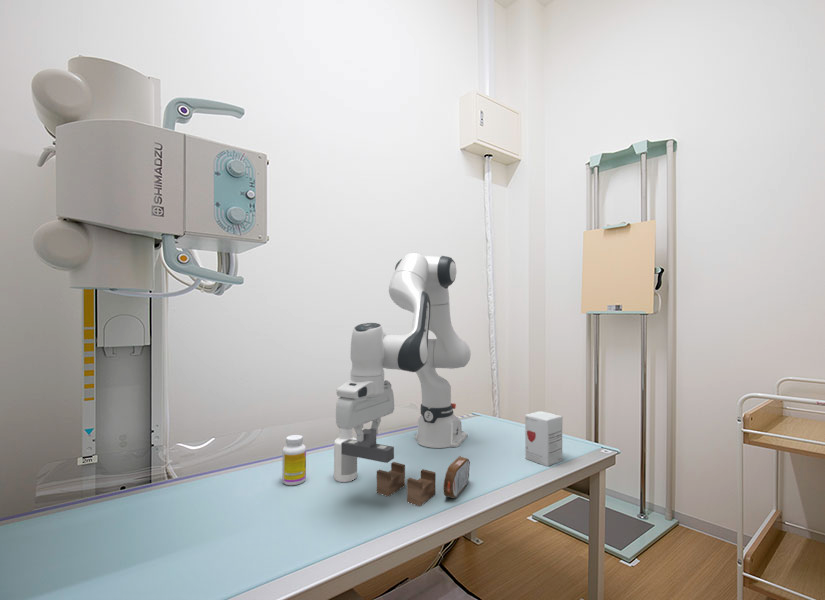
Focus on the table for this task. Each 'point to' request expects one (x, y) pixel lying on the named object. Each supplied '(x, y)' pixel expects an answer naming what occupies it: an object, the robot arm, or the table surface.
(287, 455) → the supplement bottle
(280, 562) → the table surface
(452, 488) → the tin
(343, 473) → the spray bottle
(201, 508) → the table surface
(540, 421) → the supplement box
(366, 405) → the robot arm
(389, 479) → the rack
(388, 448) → the power strip
